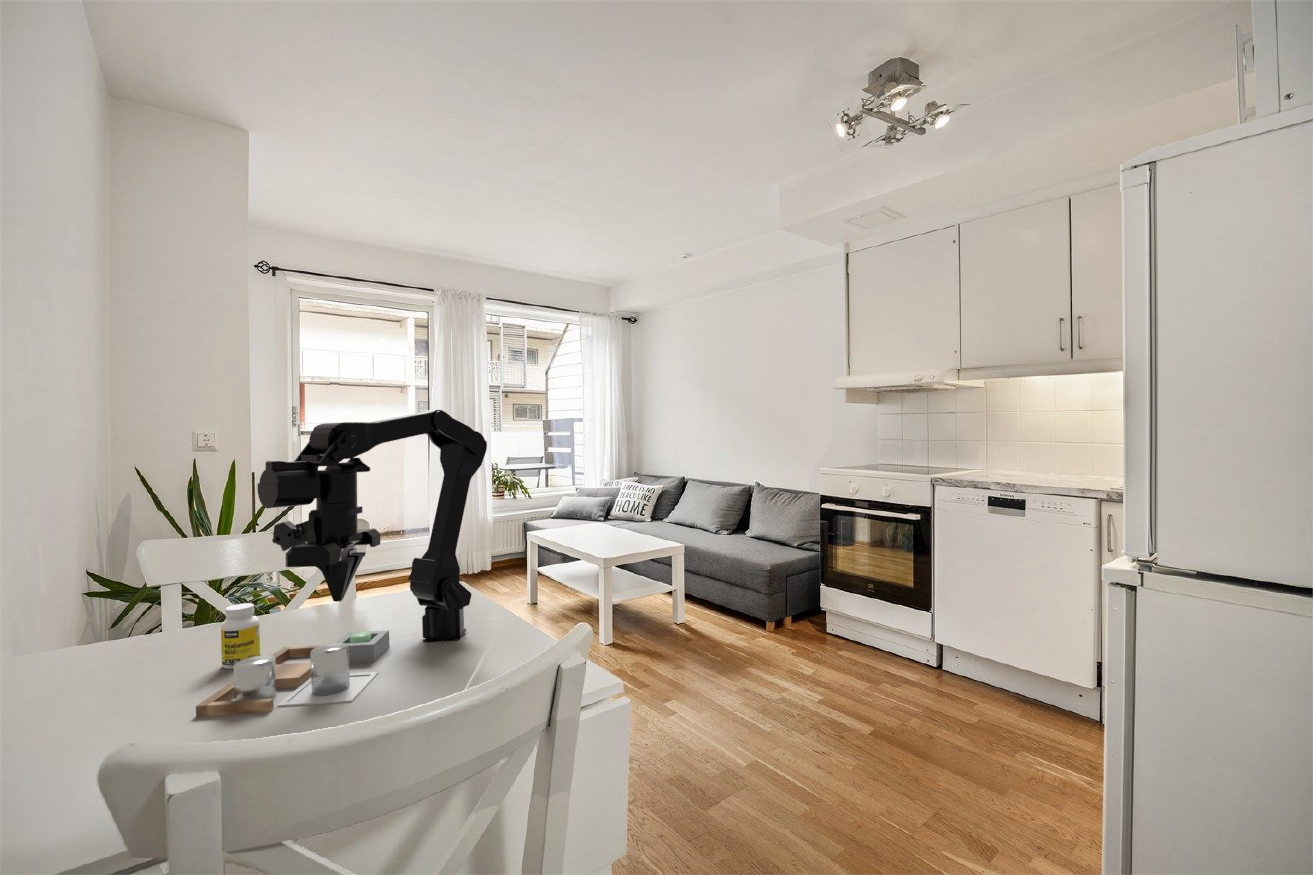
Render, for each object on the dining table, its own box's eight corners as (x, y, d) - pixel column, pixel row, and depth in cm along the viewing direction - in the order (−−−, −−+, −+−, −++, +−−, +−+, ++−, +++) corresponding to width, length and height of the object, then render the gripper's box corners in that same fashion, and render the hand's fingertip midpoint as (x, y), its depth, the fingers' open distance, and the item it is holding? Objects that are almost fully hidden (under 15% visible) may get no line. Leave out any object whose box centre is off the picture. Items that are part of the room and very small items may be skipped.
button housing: (389, 650, 106) (389, 630, 106) (374, 665, 99) (373, 644, 99) (348, 652, 105) (348, 632, 105) (330, 668, 98) (329, 646, 98)
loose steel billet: (355, 680, 91) (354, 641, 91) (341, 695, 86) (339, 654, 86) (321, 682, 91) (320, 643, 91) (305, 697, 86) (303, 656, 86)
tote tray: (378, 676, 94) (378, 671, 94) (351, 706, 84) (351, 700, 84) (312, 680, 93) (312, 675, 93) (277, 710, 83) (277, 705, 83)
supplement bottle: (219, 672, 97) (216, 613, 97) (225, 661, 102) (223, 604, 102) (258, 665, 100) (256, 607, 100) (262, 655, 105) (260, 600, 105)
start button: (374, 648, 104) (373, 631, 104) (366, 655, 100) (366, 637, 100) (355, 649, 103) (354, 632, 103) (347, 656, 100) (346, 639, 100)
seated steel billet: (283, 694, 88) (282, 654, 88) (264, 710, 83) (263, 667, 83) (248, 696, 88) (246, 656, 88) (226, 712, 83) (225, 669, 83)
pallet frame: (340, 655, 103) (340, 644, 103) (269, 716, 82) (269, 701, 82) (283, 658, 103) (282, 647, 103) (196, 720, 81) (195, 706, 81)
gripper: (315, 497, 103) (316, 587, 103) (246, 509, 84) (247, 620, 84) (381, 496, 103) (382, 586, 103) (327, 508, 85) (328, 618, 84)
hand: (338, 600), depth 94 cm, fingers closed
